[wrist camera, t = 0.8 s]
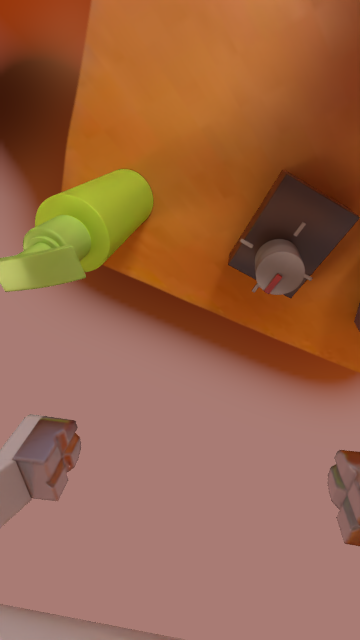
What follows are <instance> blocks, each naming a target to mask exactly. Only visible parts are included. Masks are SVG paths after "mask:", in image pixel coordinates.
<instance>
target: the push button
mask: <svg viewBox="0 0 360 640" xmlns="http://www.w3.org/2000/svg"><path fill="white" fill-rule="evenodd" d="M354 322H355V324H356V326H357V328H358V330H359V332H360V304H359V307H358V310H357V314H356V317H355V321H354Z"/></svg>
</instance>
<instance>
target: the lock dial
mask: <svg viewBox="0 0 360 640" xmlns="http://www.w3.org/2000/svg"><path fill="white" fill-rule="evenodd" d="M255 273H256V280H257V283H258V285H259V286H260V287H261V288H262V289H263V290H264V292H266V293H268V294H275V295H281V294H286V293H289V292H291V291H293V290H295V289H296V288H297V287H298V286H299V285H300V284H301V282H302V281H303V278H304V275H305V267H304V264H303V261H302V259H301V256H300V254H299V251H298V249H297V248H296V246H295V245H294V244H293V243H291V242H290V241H287V240H284V239H275V240H271V241H269V242H267V243H265V244H264V245H262V246H261V247H260V248H259V250H258V251H257V253H256V256H255Z"/></svg>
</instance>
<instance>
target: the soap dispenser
mask: <svg viewBox="0 0 360 640" xmlns="http://www.w3.org/2000/svg"><path fill="white" fill-rule="evenodd" d="M152 208H153V194H152V191H151V188H150V186H149V184H148V183H147V181H146V180H145V179H144V178H143V177H142V176H141V175H140V174H138V173H137V172H135V171H132V170H129V169H120V170H116V171H114V172H111V173H109V174H106V175H104V176H101V177H99V178H96V179H94V180H91V181H89V182H86V183H84V184H82V185H79V186H77V187H74V188H72V189H69V190H67V191H64V192H62V193H59V194H57V195H54V196H52V197H50V198H48V199H46V200H45V201H44V202H43V203H42V204H41V205H40V207H39V209H38V211H37V214H36V218H35V228H33V229H31V230H30V231H28V233H27V234H26V235H25V237H24V240H23V249H24V251H23V252H21V253H19V254H18V255H16V256H10V257H5V258H0V284H1V285H2V287H3V289H4V290H5V292H10V291H19V290H29V289H37V288H43V287H49V286H54V285H59V284H64V283H68V282H72V281H76V280H79V279H83V278H86V275H85V273H84V272H89V271H92V270H95V269H97V268H98V267H100V266H101V265H102V264H103V263H104V262H105V261H106V260H107V259H108V258H109V257H110V256H111V255H112V254H113V253H114V252H115V251H116V250H117V249H118V248H119V247H120V246H121V245H122V244H123V243H124V242H125V240H126V239H127V238H128V237H129V236H130V235H131V234H132V233H133V232H134V231H135V230H136V229H137V228H138V227H139V226H140V225H141V224H142V223H143V222H144V221H145V220H146V219H147V218H148V217H149V215H150V213H151V211H152Z"/></svg>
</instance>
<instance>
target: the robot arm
mask: <svg viewBox="0 0 360 640" xmlns="http://www.w3.org/2000/svg"><path fill="white" fill-rule="evenodd" d="M76 430H77V425H76V421H74V420H67V419H61V418H54V417H47V416H39V415H28V416H27V417H25V418H24V419H23V421H22V422H21V424H20V425H19V426H18V427H17V429H16V430H15V431H14V433H13V434H12V435H11V437H10V438H9V439H8V440H7V442H6V443H5V444H4V446H3V447H2V448H1V450H0V528H1V527H2V526H3V525H4V524H5V523H6V522H7V521H9V520H10V519H11V518H12V517H13V516H14V515H15V514H16V513H18V512H19V511H20V510H21V509H22V508H23V507H24V506H25V505H26V504H28V502H30V501H31V498H35V499H44V500H52V501H58V500H59V498H60V496H61V494H62V492H63V490H64V488H65V486H66V484H67V481H68V478H67V472H69V471H70V470H71V469H73V468H74V467H75V465H76V462H77V460H78V458H79V454H80V450H81V441H80V437H79V436H78V435H77V434H76V433H75V431H76ZM335 461H336V465H334V466H332V467H331V468H330V471H329V474H328V489H329V494H330V497H331V501H332V502H333V503H334V504H335V505H336V506H337V508H338V509H339V510H340V511H339V513H338V515H337V521H338V524H339V527H340V530H341V533H342V537H343V540H344V543H345V544H350V545H356V546H360V452H354V451H345V450H340V451H338V452H337V453H336V456H335ZM0 640H184V639H179V638H174V637H169V636H164V635H158V634H153V633H148V632H143V631H137V630H132V629H127V628H121V627H117V626H112V625H107V624H101V623H96V622H91V621H86V620H81V619H75V618H70V617H64V616H60V615H55V614H50V613H44V612H39V611H34V610H28V609H24V608H18V607H13V606H8V605H3V604H0Z"/></svg>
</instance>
